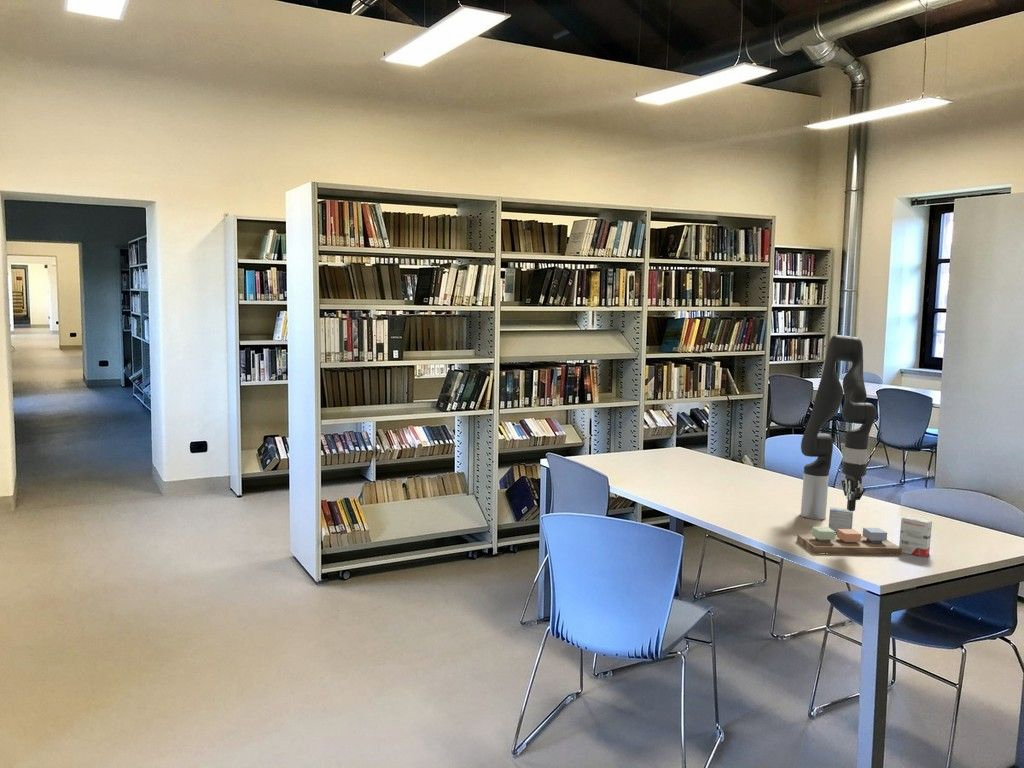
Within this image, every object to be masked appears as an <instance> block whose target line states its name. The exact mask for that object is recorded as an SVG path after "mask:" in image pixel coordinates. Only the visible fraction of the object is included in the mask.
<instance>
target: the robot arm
mask: <svg viewBox="0 0 1024 768" xmlns="http://www.w3.org/2000/svg"><path fill="white" fill-rule="evenodd" d="M863 347H864V346H863V341H862V340H861V338H860V337H857V336H852V335H841V334H834V335H832V336H831V338H830V339H829V343H828V346H827V350H826V354H825V360H824V364H823V370H822V373H821V378H820V381H819V384H818V388H817V390H816V394H815V397H814V401H813V407H812V410H811V413H810V416H809V419H808V421H807V424H806V427H805V429H804V432H803V435H802V438H801V443H800V451H801V454H802V455H804V456H805V457H811V458H812V457H813V458H816V459H815V460H813V462H811V463H810V462H809V463H808V464H805V465H804V468H803V477H802V493H801V503H800V504H801V507H800V516H801V517H802V516H803V518H805V517H806V518H805V519H809V518H811V519H810V520H825V519H826V518H827V505H828V491H829V490H828V488H829V476H830V470H831V466H832V456H833V451H834V442H833V437H832V435H831V434H830V433H823V432H820V430H821V429H822V427H823V426H824V425H825V424H826V423H828V421H830V419H832V418H833V417H834V416H835V415H836V413H837V412H838V411H839V409H840V407H841V404H842V401H843V399H844V403H843V407H842V410H841V417H842V419H843V420H844V421H845V422H846V423H850V424H861V425H860V427H859V428H858V427H857V428H853V429H848V430H846V433H845V439H844V441H845V442H844V449H843V454H842V455H843V457H842V467H841V468H842V469H841V472H842V474H843V475H845V476H844V477H845V479H841V480H840V481H841V485H842V490H843V494H844V496H845V497H846V499H847V502H846V503H847V504H846V509H847V510H849V511H853V512H855V511H856V505H857V503H856V502H857V501H860V500H861V498H862V497H863V495H864V493H865V492H866V488H865V487H863V486H862V483H863V481H862V478H863V477H865V476H867V467H868V466H867V465H868V443H869V436H870V433H871V429H872V427H873V424H874V423H875V419H876V417H877V409H876V406H875V405H874V404H873V403H870V402H866V400H867V395H868V394H867V390H866V385H865V379H864V348H863ZM837 361H840V362H851V363H852V365H851V367H850V369H849V370H848V371H847V372H846V373H845V375H844V377H843V379H842V383H841V382H840V379H839V377H838V374H837V370H836V364H837ZM824 518H825V519H824Z"/></svg>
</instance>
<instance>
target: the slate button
mask: <svg viewBox="0 0 1024 768" xmlns="http://www.w3.org/2000/svg"><path fill="white" fill-rule="evenodd" d="M862 536H864V537H866V538H867V539H869V540H875V541H887V540H888V532H887V531H885V530H883V529H882V528H880V527H863V528H862Z"/></svg>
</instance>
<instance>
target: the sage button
mask: <svg viewBox="0 0 1024 768" xmlns="http://www.w3.org/2000/svg"><path fill="white" fill-rule="evenodd" d="M811 535H813V536H814V537H816V538H817V539H821V540H835V535H836V533H835V531H834V530H832V529H830V528H829V526H812V527H811Z"/></svg>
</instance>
